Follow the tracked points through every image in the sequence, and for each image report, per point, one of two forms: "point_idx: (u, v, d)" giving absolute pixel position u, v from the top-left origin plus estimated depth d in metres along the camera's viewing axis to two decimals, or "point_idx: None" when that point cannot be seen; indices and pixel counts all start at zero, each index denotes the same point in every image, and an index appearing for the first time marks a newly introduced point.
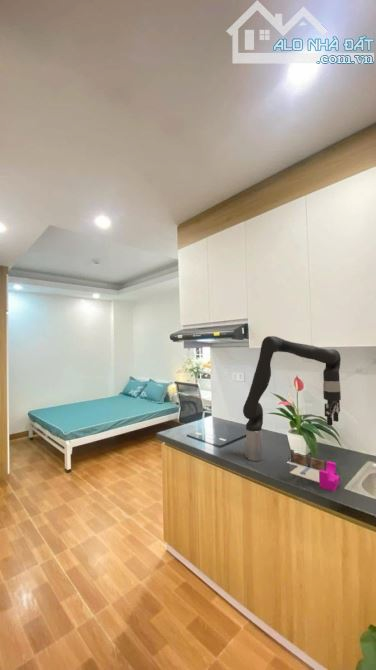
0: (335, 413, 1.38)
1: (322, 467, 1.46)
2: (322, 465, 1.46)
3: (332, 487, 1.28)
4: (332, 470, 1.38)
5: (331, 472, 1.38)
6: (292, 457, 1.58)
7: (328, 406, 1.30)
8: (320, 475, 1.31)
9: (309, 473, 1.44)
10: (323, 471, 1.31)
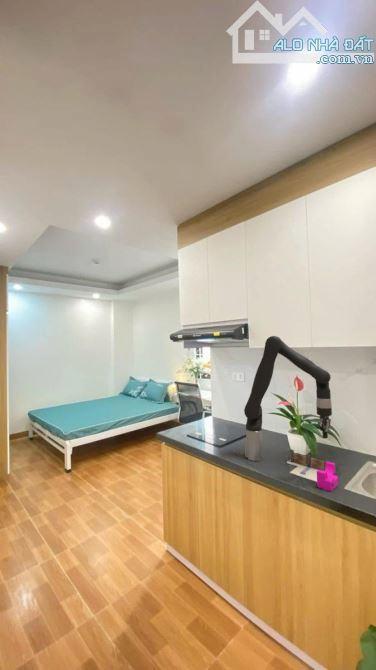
0: None
1: (322, 467, 1.46)
2: (322, 465, 1.46)
3: (329, 487, 1.27)
4: (331, 471, 1.38)
5: (330, 473, 1.37)
6: (292, 457, 1.58)
7: (321, 425, 1.47)
8: (317, 475, 1.31)
9: (309, 473, 1.44)
10: (321, 471, 1.31)
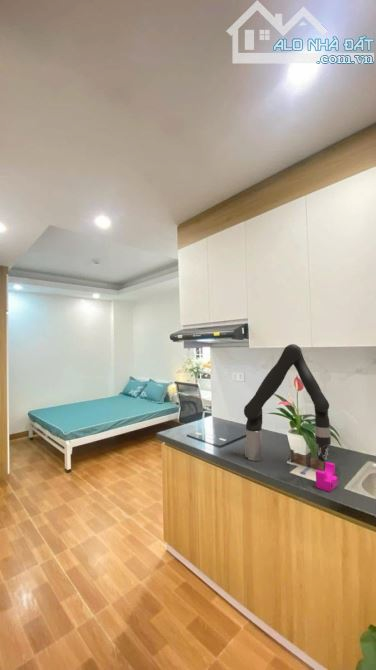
0: None
1: (321, 467, 1.46)
2: (321, 465, 1.46)
3: (328, 488, 1.27)
4: (331, 471, 1.37)
5: (329, 473, 1.37)
6: (292, 457, 1.58)
7: (320, 455, 1.45)
8: (316, 475, 1.31)
9: (309, 473, 1.44)
10: (320, 471, 1.31)
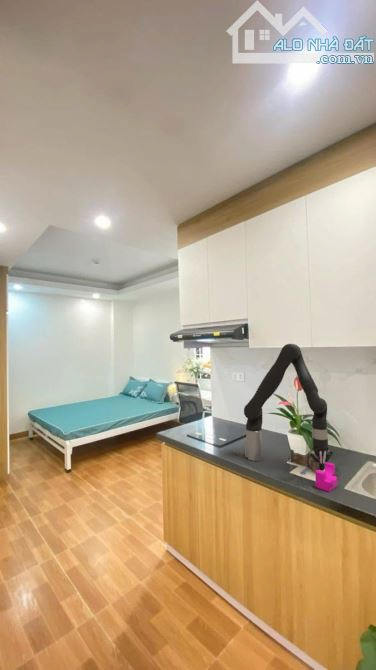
0: None
1: (314, 468, 1.45)
2: (314, 467, 1.44)
3: (328, 488, 1.27)
4: (330, 471, 1.37)
5: (329, 473, 1.37)
6: (292, 457, 1.58)
7: (311, 455, 1.44)
8: (316, 475, 1.31)
9: (309, 473, 1.44)
10: (319, 471, 1.31)
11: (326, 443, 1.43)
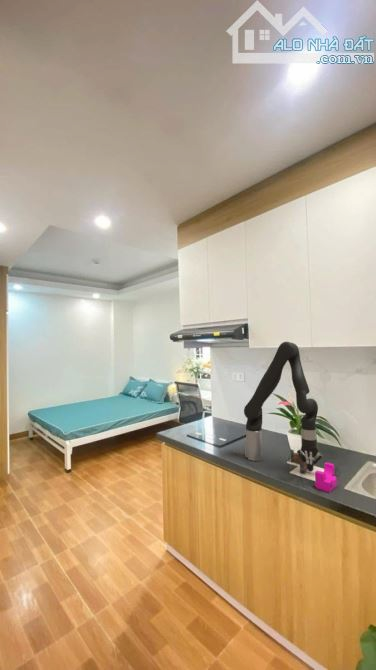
0: None
1: None
2: None
3: (328, 488, 1.27)
4: (330, 471, 1.37)
5: (329, 473, 1.36)
6: (292, 457, 1.58)
7: None
8: (316, 476, 1.30)
9: (309, 473, 1.44)
10: (319, 472, 1.31)
11: (309, 444, 1.42)
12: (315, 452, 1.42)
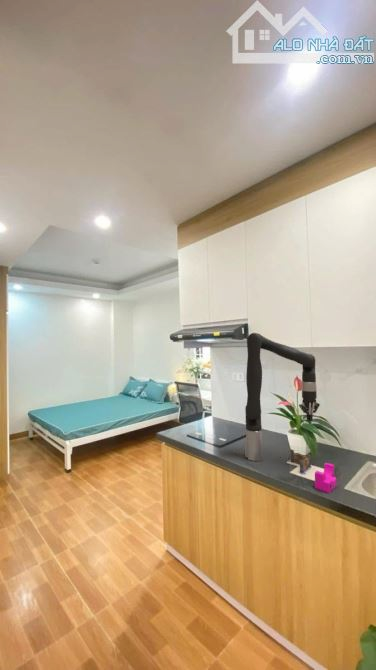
0: None
1: None
2: None
3: (327, 489, 1.26)
4: (330, 472, 1.36)
5: (329, 474, 1.36)
6: (292, 457, 1.58)
7: (301, 407, 1.51)
8: (315, 476, 1.30)
9: (309, 473, 1.44)
10: (319, 472, 1.30)
11: (315, 395, 1.51)
12: (315, 401, 1.54)
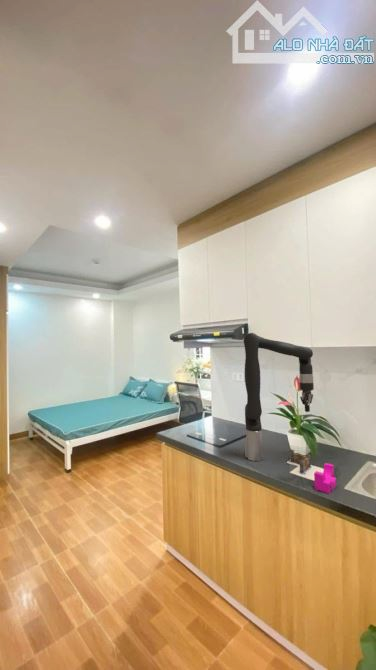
0: None
1: None
2: None
3: (327, 489, 1.26)
4: (329, 472, 1.36)
5: (328, 474, 1.36)
6: (292, 457, 1.58)
7: (303, 399, 1.55)
8: (315, 476, 1.30)
9: (309, 473, 1.44)
10: (318, 473, 1.30)
11: (313, 386, 1.58)
12: (310, 392, 1.61)
